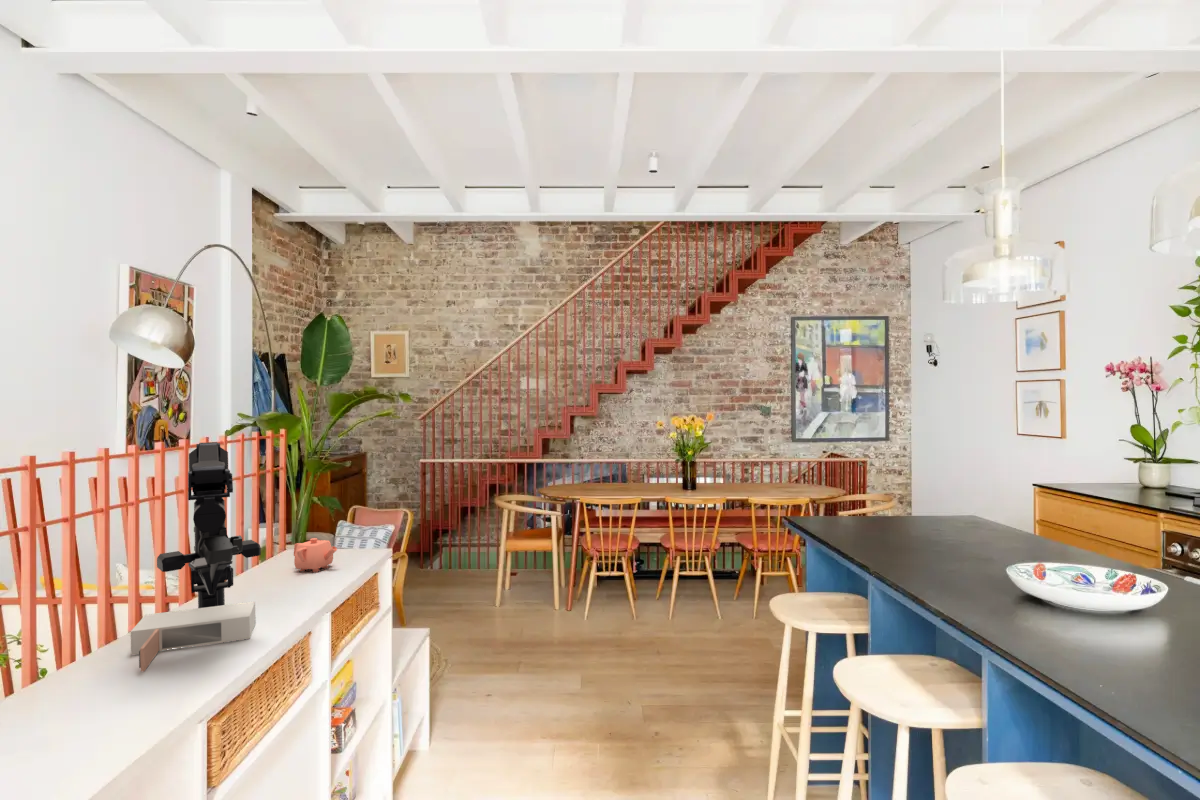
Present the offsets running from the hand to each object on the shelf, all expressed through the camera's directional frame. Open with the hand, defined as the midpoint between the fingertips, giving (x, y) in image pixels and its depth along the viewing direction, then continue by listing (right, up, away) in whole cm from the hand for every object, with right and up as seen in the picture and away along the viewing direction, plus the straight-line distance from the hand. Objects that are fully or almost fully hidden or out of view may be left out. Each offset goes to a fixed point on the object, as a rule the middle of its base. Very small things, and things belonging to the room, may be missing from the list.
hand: (211, 594), depth 142 cm
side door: (-7, -11, -9) cm, 16 cm away
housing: (-6, -11, +4) cm, 13 cm away
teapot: (-5, -11, +64) cm, 65 cm away
